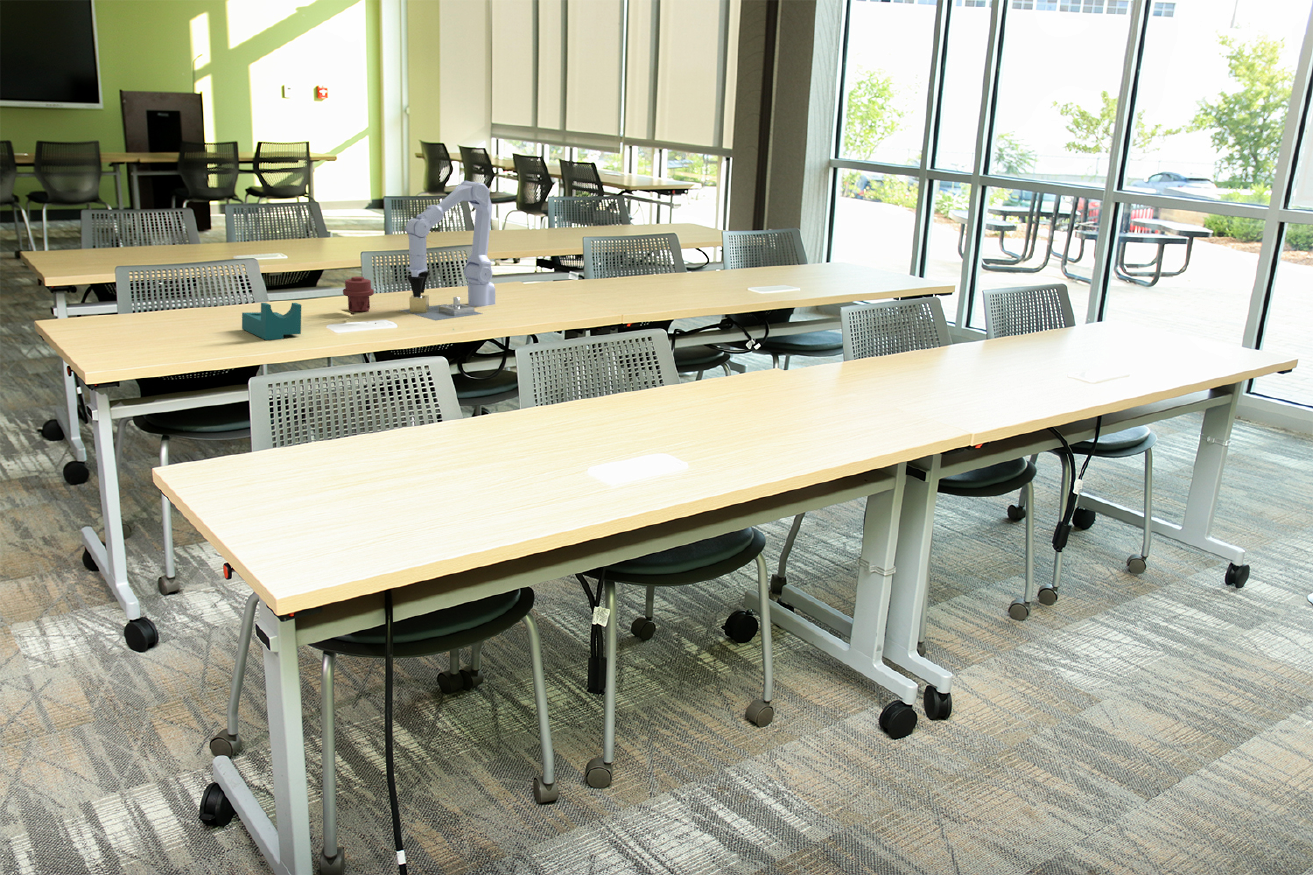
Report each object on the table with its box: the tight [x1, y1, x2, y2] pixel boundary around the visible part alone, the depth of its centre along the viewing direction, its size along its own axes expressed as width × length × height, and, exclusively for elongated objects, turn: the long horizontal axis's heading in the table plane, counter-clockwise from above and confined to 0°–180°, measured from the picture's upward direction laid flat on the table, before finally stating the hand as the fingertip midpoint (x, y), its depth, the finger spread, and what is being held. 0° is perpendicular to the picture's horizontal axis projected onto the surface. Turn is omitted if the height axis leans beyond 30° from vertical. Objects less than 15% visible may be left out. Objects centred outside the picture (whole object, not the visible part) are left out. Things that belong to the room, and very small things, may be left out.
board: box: [398, 303, 484, 321], centre depth 349 cm, size 20×21×1 cm
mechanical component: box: [342, 276, 375, 316], centre depth 343 cm, size 12×10×10 cm
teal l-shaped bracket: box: [241, 302, 302, 341], centre depth 309 cm, size 18×11×10 cm, turn 42°
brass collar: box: [409, 294, 430, 313], centre depth 348 cm, size 6×6×5 cm
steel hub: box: [439, 296, 476, 316], centre depth 348 cm, size 9×9×5 cm
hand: (418, 294), depth 347 cm, fingers open, 7 cm apart
